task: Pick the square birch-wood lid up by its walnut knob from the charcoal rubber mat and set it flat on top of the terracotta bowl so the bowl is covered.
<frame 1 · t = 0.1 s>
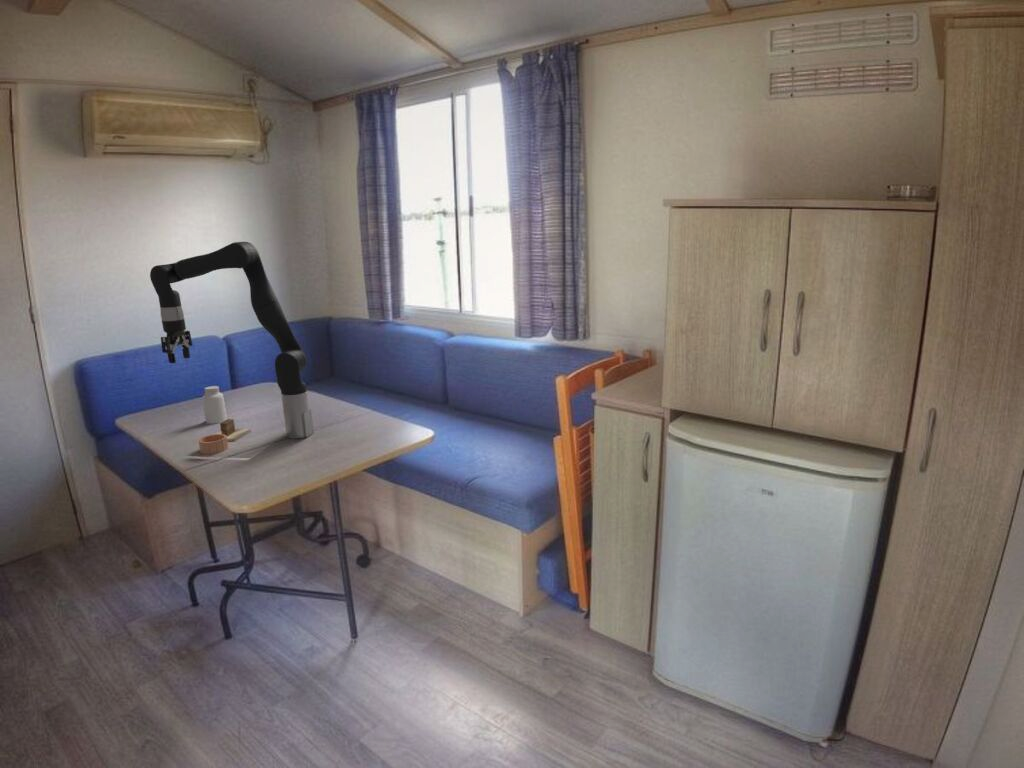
hand: (180, 360, 235), 29 cm above the table, fingers open, 8 cm apart
mat: (229, 437, 235), on the table
lid: (229, 435, 235), point 1 cm above the table, touching mat
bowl: (214, 451, 222), on the table
pill bottle: (216, 422, 254), on the table
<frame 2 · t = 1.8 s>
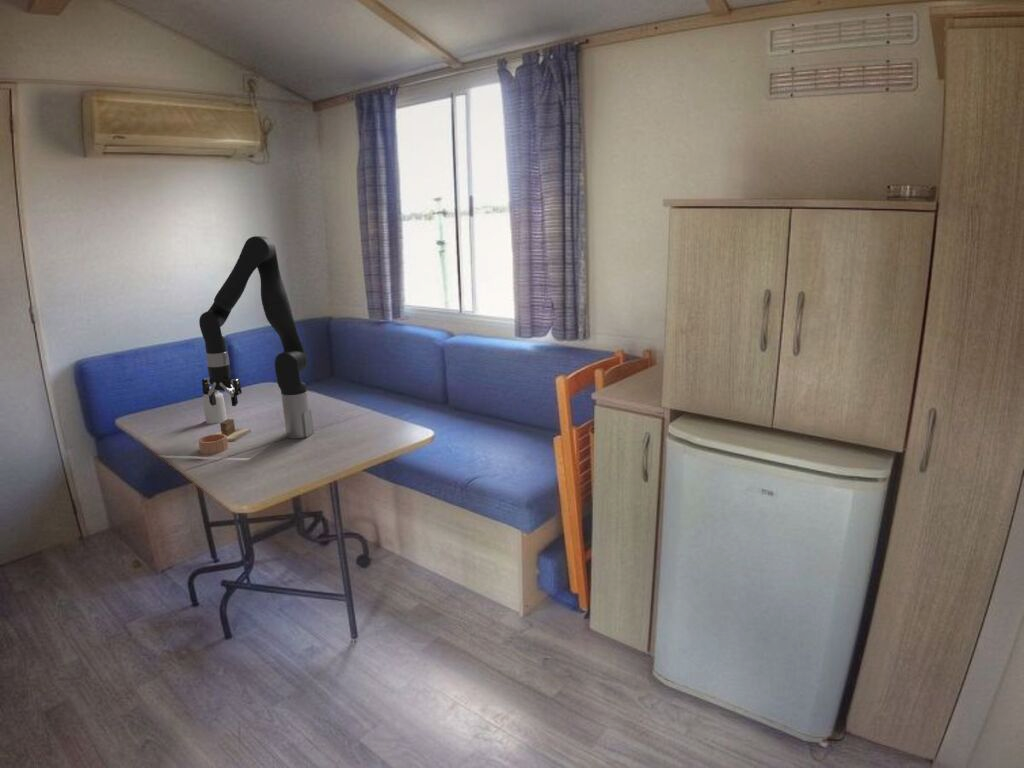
hand: (224, 405, 232), 13 cm above the table, fingers open, 8 cm apart
nothing on the table moved.
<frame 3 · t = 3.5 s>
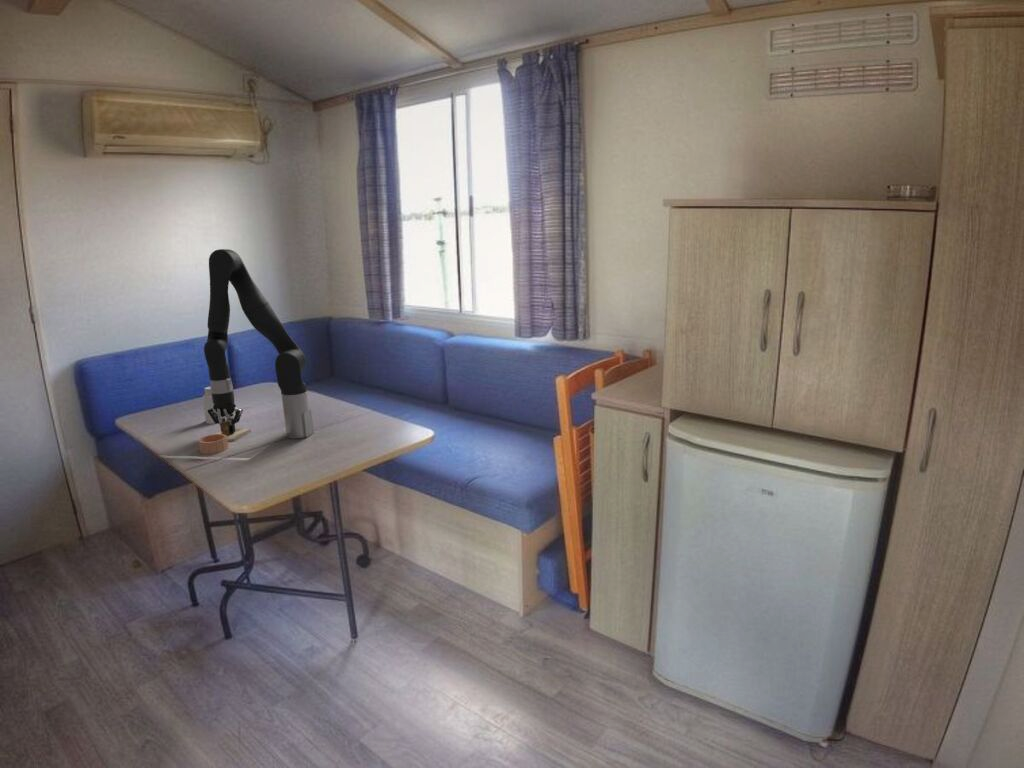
hand: (228, 433, 235), 2 cm above the table, fingers closed on lid, 2 cm apart
lid: (229, 435, 235), point 1 cm above the table, touching gripper, mat
everything else where it was.
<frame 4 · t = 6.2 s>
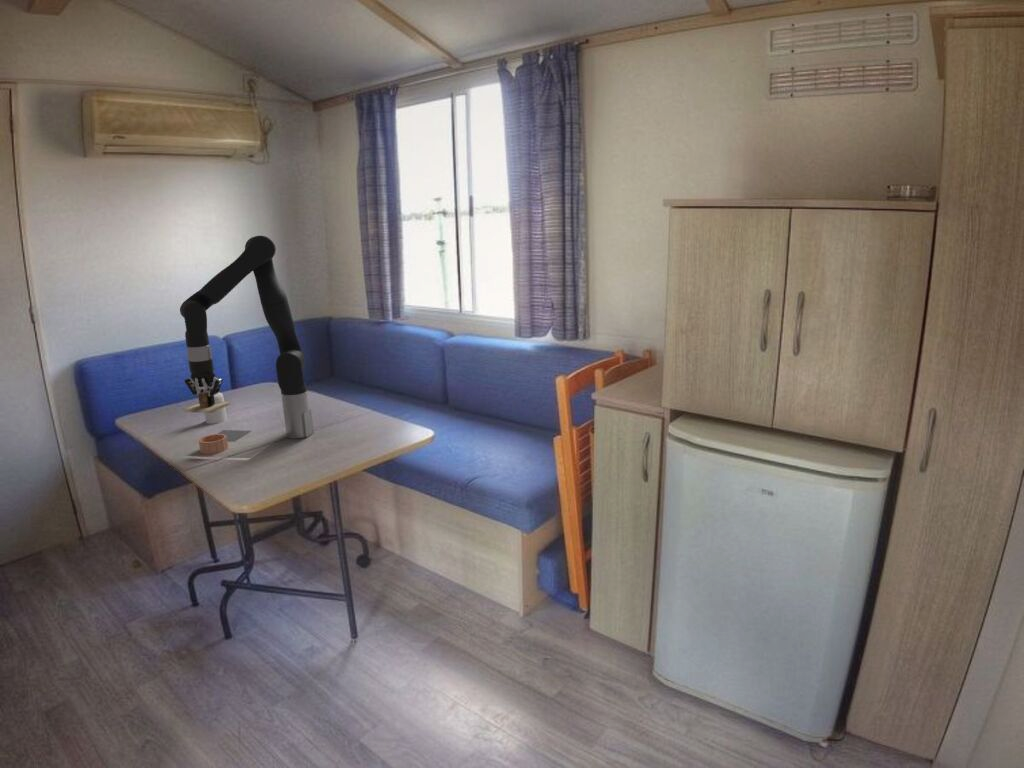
hand: (207, 405, 217), 17 cm above the table, fingers closed on lid, 2 cm apart
lid: (207, 408, 218), point 16 cm above the table, touching gripper
everything else where it was.
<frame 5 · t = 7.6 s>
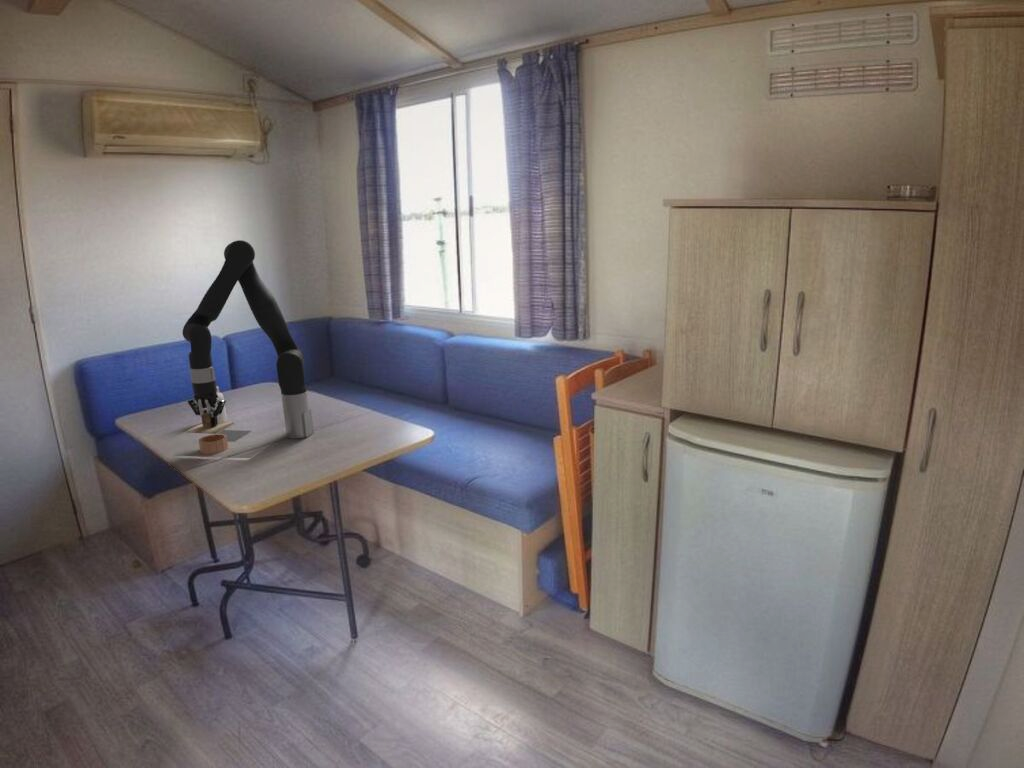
hand: (210, 426, 219), 10 cm above the table, fingers closed on lid, 2 cm apart
lid: (210, 428, 219), point 9 cm above the table, touching gripper
everything else where it was.
when the fingers open (7 cm above the table, at t = 8.8 s): lid stays where it is, resting on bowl.
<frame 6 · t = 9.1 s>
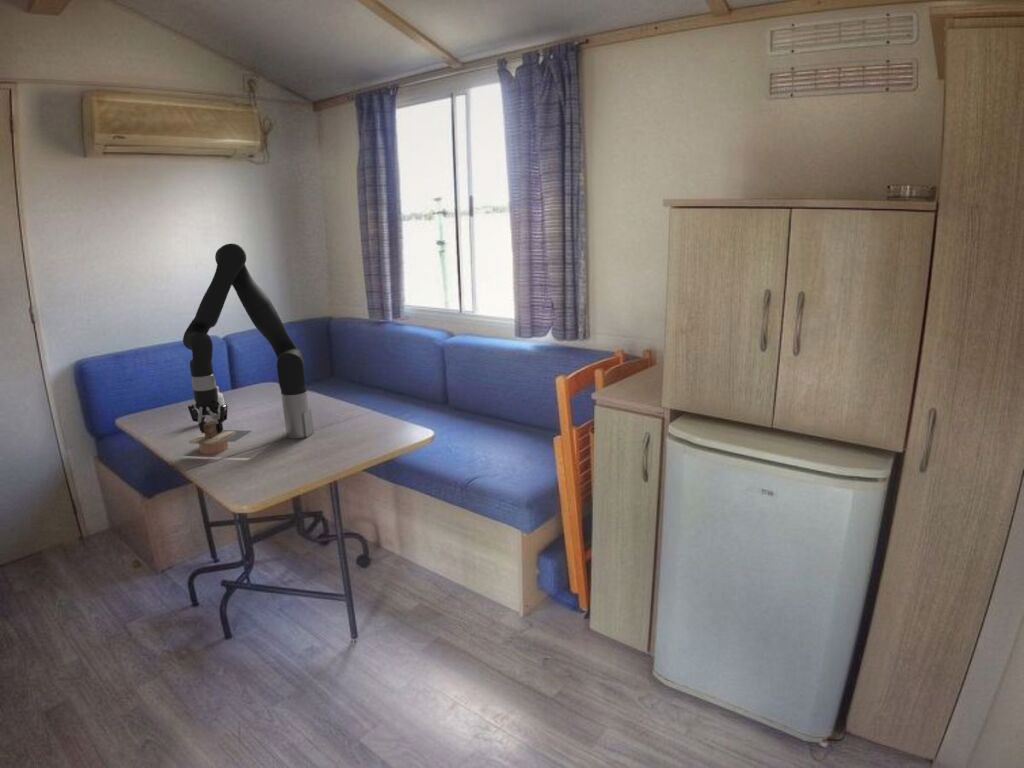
hand: (211, 432, 220), 7 cm above the table, fingers open, 5 cm apart
lid: (212, 438, 220), point 5 cm above the table, touching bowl
everything else where it was.
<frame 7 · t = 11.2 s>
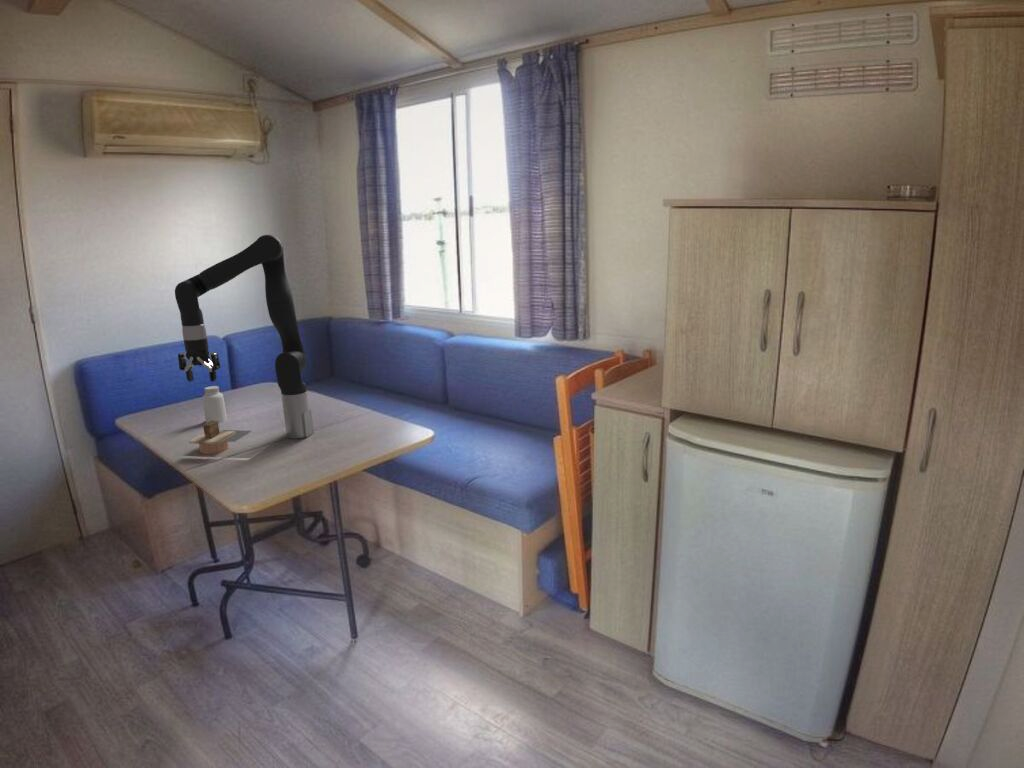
hand: (202, 381, 223), 24 cm above the table, fingers open, 8 cm apart
nothing on the table moved.
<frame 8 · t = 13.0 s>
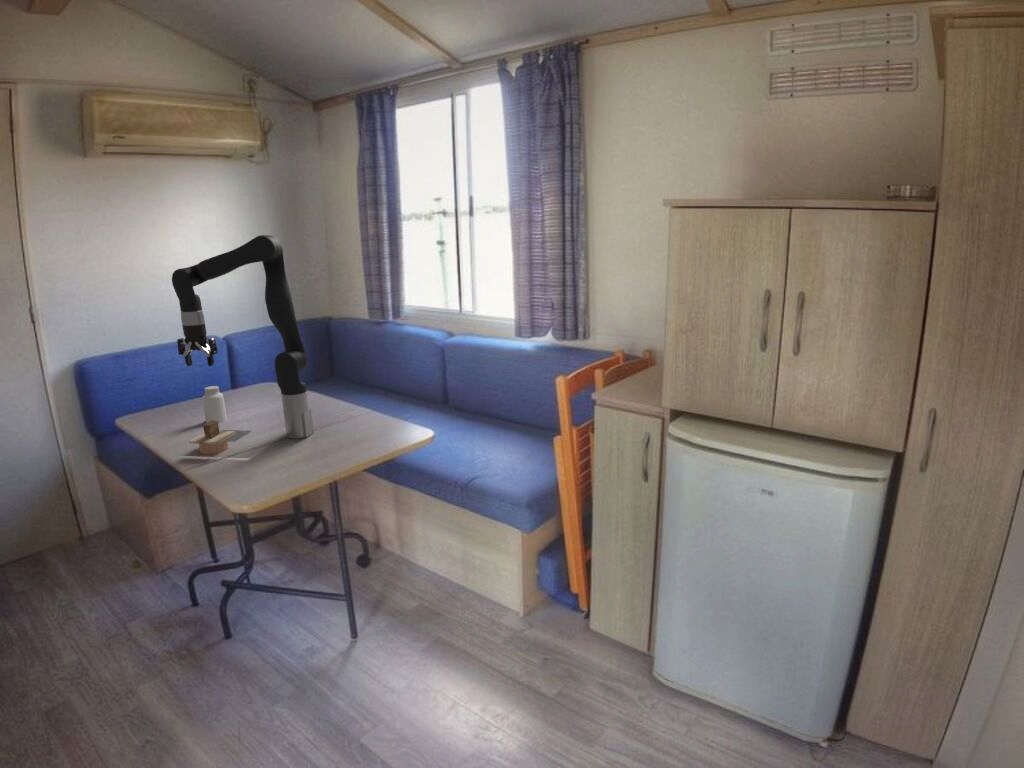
hand: (200, 365, 230), 28 cm above the table, fingers open, 8 cm apart
nothing on the table moved.
at the end: lid 0.0 cm off-centre on the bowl, point 5.0 cm above the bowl's base; lid tilted 0°; the gripper is holding nothing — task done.
